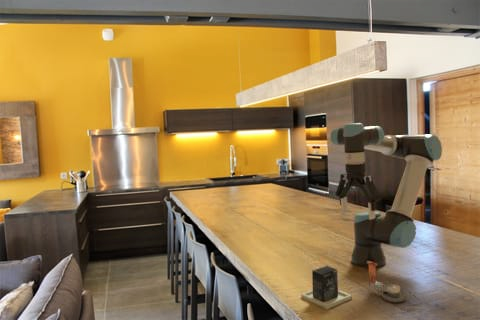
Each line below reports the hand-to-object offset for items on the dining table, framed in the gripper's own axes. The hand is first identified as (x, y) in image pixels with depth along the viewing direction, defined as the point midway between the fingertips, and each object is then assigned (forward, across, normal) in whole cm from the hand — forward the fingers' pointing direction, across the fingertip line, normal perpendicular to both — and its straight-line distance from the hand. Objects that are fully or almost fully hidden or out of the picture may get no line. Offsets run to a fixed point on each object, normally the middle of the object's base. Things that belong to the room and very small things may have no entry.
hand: (357, 216), depth 159 cm
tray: (+27, +1, -21) cm, 34 cm away
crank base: (+27, +17, -3) cm, 32 cm away
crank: (+26, +13, -3) cm, 29 cm away
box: (+26, +1, -21) cm, 34 cm away
